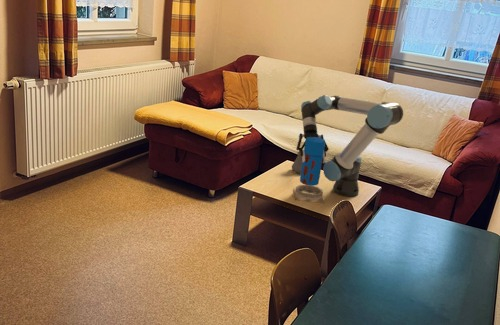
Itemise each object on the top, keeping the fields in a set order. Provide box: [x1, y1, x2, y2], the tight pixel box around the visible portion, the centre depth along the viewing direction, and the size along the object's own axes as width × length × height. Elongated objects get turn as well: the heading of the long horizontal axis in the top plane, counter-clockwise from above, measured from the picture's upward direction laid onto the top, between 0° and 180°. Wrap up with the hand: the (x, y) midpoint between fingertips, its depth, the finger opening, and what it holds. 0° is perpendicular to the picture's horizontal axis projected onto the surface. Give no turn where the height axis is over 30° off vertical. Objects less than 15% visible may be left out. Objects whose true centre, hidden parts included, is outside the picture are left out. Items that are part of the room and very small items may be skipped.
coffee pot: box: [291, 151, 302, 175], centre depth 307 cm, size 21×12×15 cm, turn 4°
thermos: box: [299, 137, 326, 186], centre depth 270 cm, size 11×11×25 cm
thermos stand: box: [293, 184, 325, 204], centre depth 275 cm, size 16×16×4 cm
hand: (314, 161), depth 267 cm, fingers closed on thermos, 11 cm apart
